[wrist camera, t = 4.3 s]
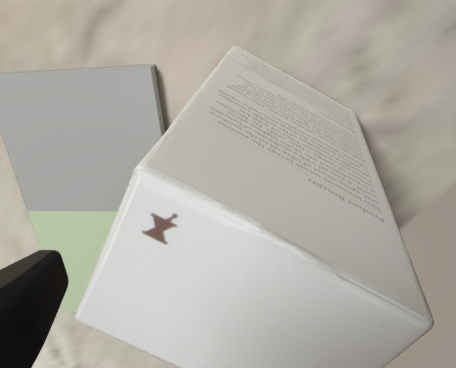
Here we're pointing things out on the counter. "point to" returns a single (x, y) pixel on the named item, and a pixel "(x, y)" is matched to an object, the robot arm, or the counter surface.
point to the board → (78, 154)
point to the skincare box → (258, 237)
